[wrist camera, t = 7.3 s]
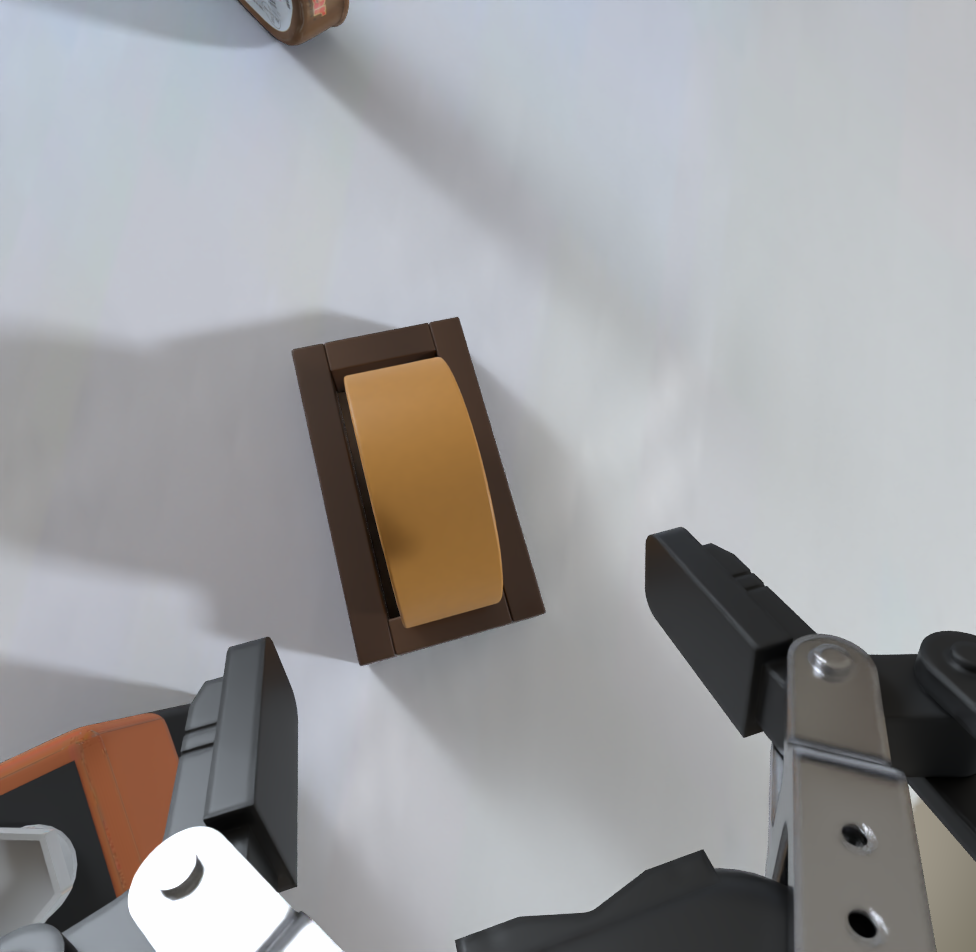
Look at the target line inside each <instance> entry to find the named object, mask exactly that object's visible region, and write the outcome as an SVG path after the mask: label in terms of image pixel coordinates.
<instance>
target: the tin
mask: <svg viewBox="0 0 976 952" xmlns="http://www.w3.org/2000/svg"><path fill="white" fill-rule="evenodd" d="M239 1H240V2H241V3H242V5H243V6H244V7H245V8H246V9H247V10H248V11H249V12H250V13H251V14H252V15H253V16H254V17H255V18H256V19H257V20H258V21H259V22H260V23H261V25H262V26H263V27H264V28H265V29H266V30H267V31H268V32H270V33H271V34H272V35H273V36H274V37H275V38H277V39H278V40H279V41H281V42H283V43H285V44H287V45H291V46H294V45H299V44H302V43H304V42H306V41H308V40H310V39H312V38H313V37H315V36H317V35H318V34H320V33H322V32H324V31H325V30H327V29H328V28H330V27H336V26H339V25H341V24H342V23H343V22H344V20H345V18H346V16H347V13H348V8H349V0H239Z"/></svg>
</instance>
